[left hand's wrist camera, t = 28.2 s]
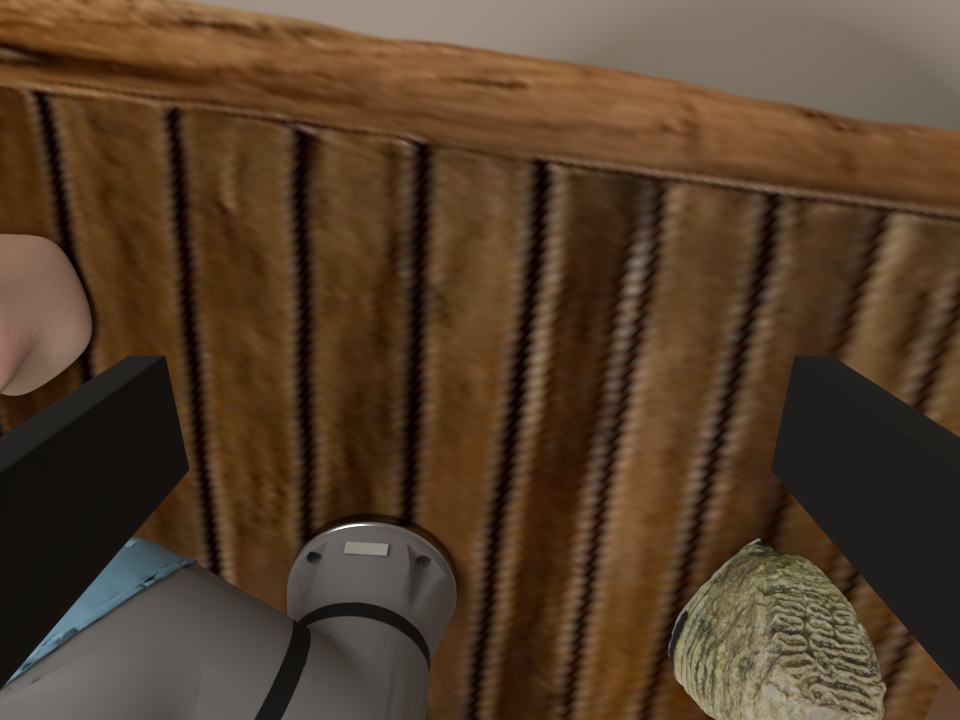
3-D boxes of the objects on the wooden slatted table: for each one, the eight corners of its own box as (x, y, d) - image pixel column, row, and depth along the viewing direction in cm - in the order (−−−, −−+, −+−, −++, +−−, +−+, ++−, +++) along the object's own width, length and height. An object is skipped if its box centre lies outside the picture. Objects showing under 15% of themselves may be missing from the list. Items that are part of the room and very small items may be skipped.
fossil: (814, 529, 52) (936, 675, 38) (738, 677, 59) (819, 848, 45) (719, 512, 51) (808, 654, 37) (654, 664, 58) (709, 833, 44)
